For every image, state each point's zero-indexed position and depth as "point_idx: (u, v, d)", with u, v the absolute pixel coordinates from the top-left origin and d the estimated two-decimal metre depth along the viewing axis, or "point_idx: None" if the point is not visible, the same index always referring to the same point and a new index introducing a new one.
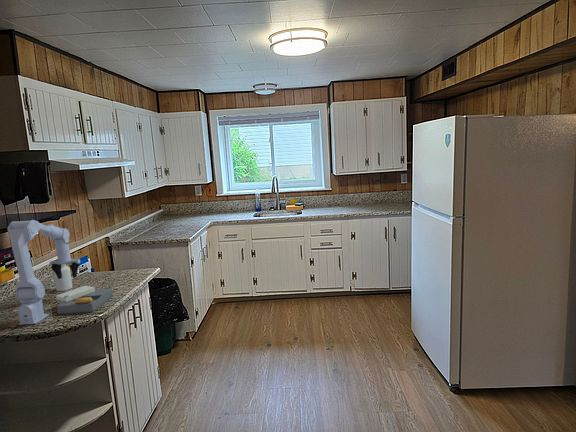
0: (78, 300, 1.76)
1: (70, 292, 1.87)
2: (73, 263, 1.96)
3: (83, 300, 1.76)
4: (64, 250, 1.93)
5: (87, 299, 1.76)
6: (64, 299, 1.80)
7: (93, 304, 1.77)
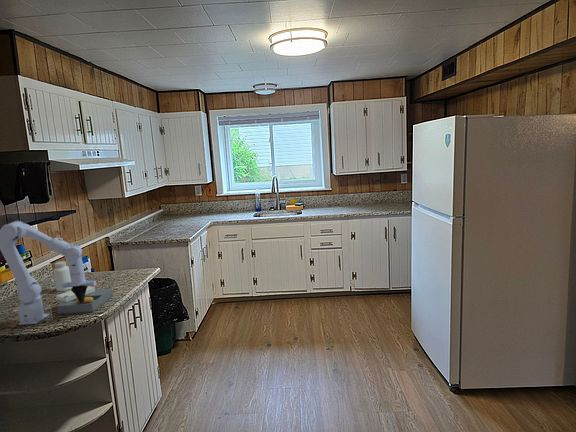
0: None
1: (70, 292, 1.87)
2: (88, 285, 1.74)
3: (84, 298, 1.77)
4: (70, 272, 1.72)
5: (88, 298, 1.77)
6: (64, 299, 1.80)
7: (93, 304, 1.77)
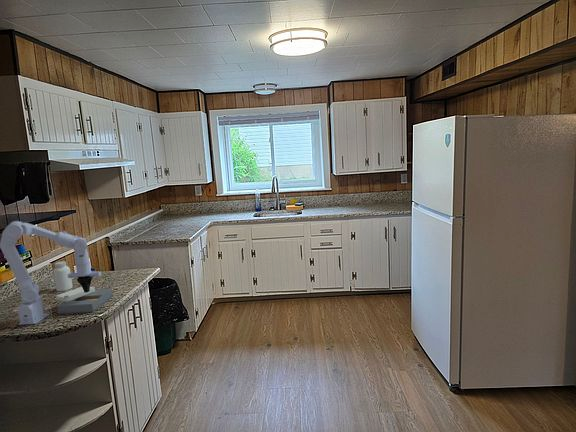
0: None
1: (70, 292, 1.87)
2: None
3: None
4: (77, 263, 1.76)
5: None
6: (64, 299, 1.80)
7: (93, 304, 1.77)
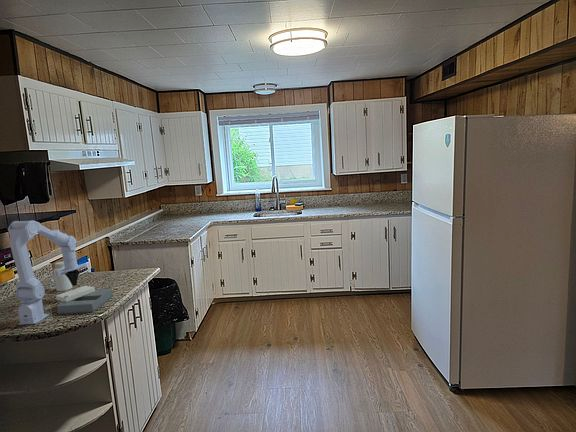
0: None
1: (70, 292, 1.87)
2: (81, 268, 1.98)
3: None
4: (70, 258, 1.91)
5: None
6: (64, 299, 1.80)
7: (93, 304, 1.77)
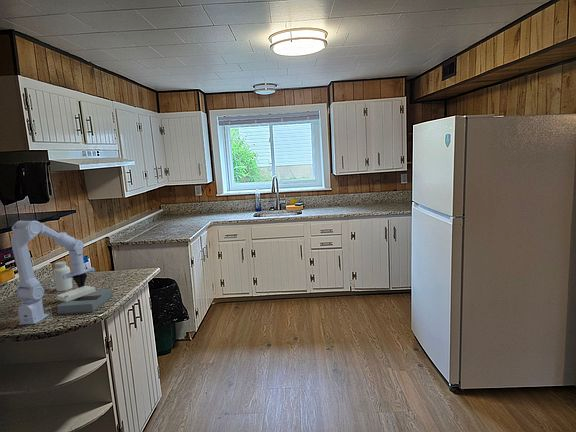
0: None
1: (71, 292, 1.87)
2: (89, 272, 1.97)
3: None
4: (76, 262, 1.90)
5: None
6: (64, 299, 1.80)
7: (93, 304, 1.77)
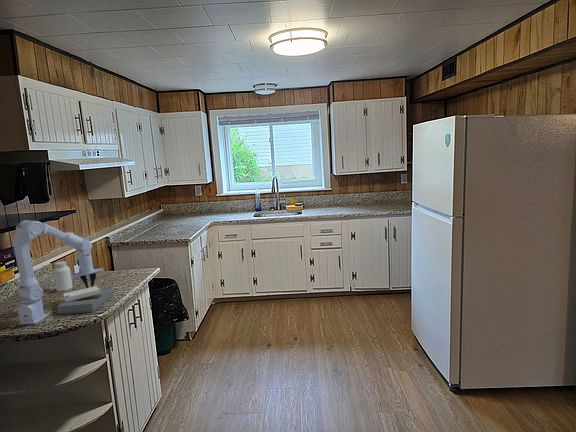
0: None
1: (76, 292, 1.87)
2: (98, 272, 1.95)
3: None
4: (84, 262, 1.89)
5: None
6: (65, 299, 1.81)
7: (93, 304, 1.77)
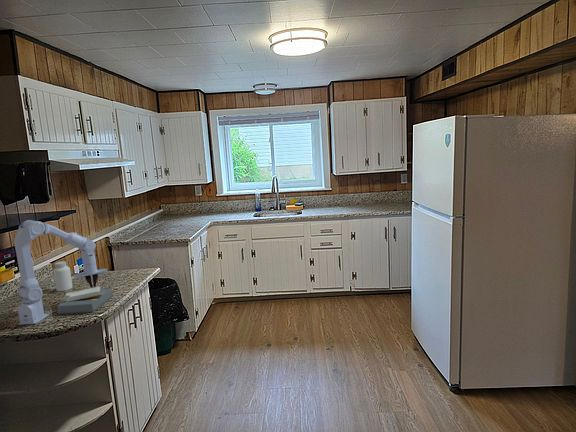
0: None
1: (78, 292, 1.86)
2: (101, 273, 1.93)
3: None
4: (87, 262, 1.88)
5: None
6: (66, 299, 1.81)
7: (93, 304, 1.77)
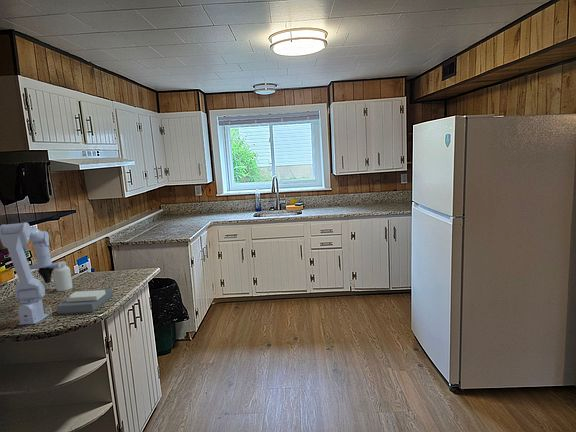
0: None
1: (83, 293, 1.84)
2: (53, 267, 1.89)
3: None
4: (46, 253, 1.87)
5: None
6: None
7: (93, 304, 1.77)
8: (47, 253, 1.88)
